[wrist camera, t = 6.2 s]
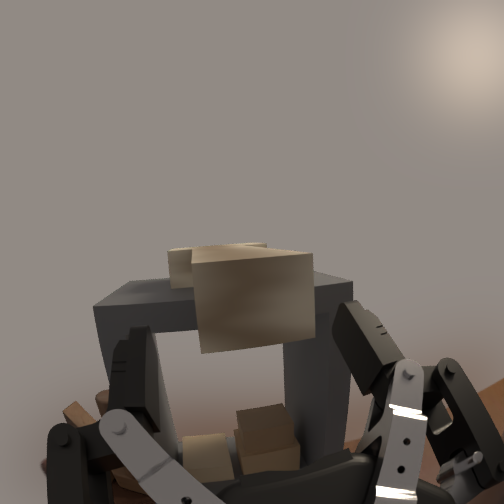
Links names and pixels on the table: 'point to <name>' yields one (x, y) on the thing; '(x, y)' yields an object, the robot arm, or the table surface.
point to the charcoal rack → (251, 420)
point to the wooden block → (81, 418)
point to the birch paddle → (247, 294)
